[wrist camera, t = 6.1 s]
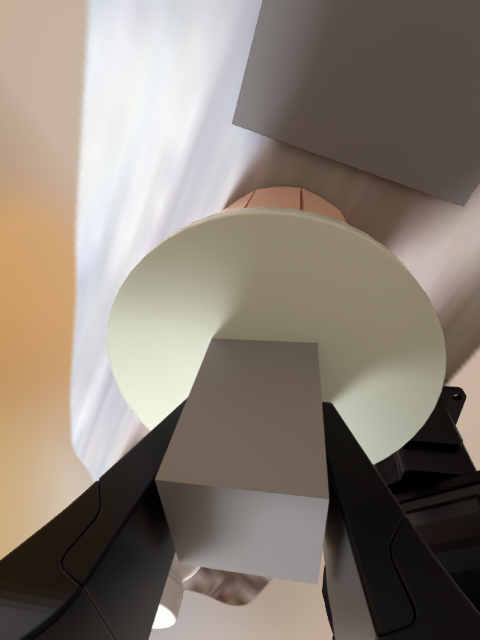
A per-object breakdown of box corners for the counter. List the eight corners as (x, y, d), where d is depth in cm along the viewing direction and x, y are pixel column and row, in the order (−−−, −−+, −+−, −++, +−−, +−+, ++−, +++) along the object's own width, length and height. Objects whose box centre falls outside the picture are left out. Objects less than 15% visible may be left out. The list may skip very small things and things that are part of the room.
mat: (460, 204, 16) (463, 206, 15) (233, 123, 15) (232, 123, 15) (703, -172, 10) (717, -182, 9) (342, -315, 9) (344, -332, 9)
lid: (400, 477, 13) (455, 673, 8) (150, 452, 14) (81, 605, 10) (483, 201, 8) (741, 322, 3) (81, 210, 9) (-126, 299, 5)
